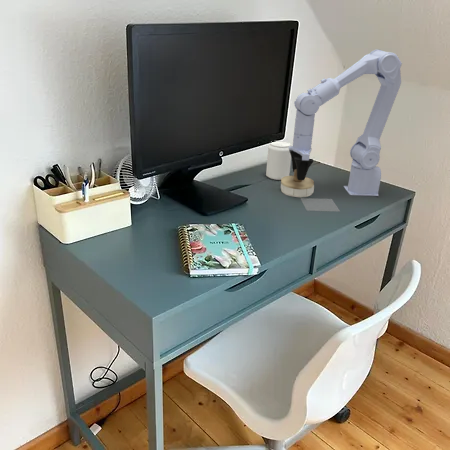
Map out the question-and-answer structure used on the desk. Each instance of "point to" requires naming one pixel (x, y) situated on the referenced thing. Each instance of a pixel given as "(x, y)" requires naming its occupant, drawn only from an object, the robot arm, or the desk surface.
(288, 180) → the lid
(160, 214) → the desk surface
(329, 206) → the mat
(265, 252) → the desk surface
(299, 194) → the bowl
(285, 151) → the beverage can
